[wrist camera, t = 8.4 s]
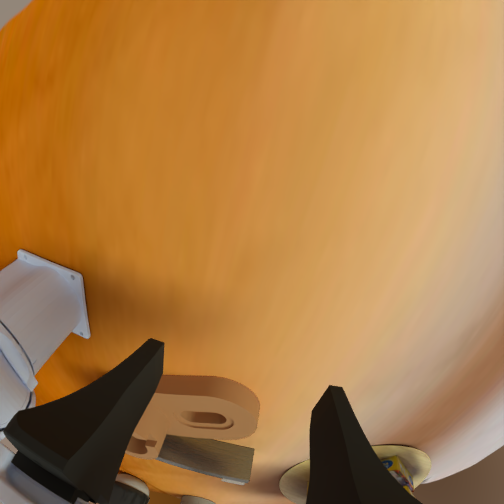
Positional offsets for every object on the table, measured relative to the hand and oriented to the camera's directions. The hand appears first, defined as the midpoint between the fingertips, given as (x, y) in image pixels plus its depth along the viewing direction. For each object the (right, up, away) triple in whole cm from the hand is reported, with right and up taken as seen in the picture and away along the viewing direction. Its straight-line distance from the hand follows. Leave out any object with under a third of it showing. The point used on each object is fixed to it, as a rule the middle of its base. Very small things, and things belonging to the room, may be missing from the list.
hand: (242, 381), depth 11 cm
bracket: (-8, -11, +17) cm, 22 cm away
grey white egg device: (-27, -47, +36) cm, 66 cm away
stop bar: (-8, -20, +21) cm, 30 cm away
